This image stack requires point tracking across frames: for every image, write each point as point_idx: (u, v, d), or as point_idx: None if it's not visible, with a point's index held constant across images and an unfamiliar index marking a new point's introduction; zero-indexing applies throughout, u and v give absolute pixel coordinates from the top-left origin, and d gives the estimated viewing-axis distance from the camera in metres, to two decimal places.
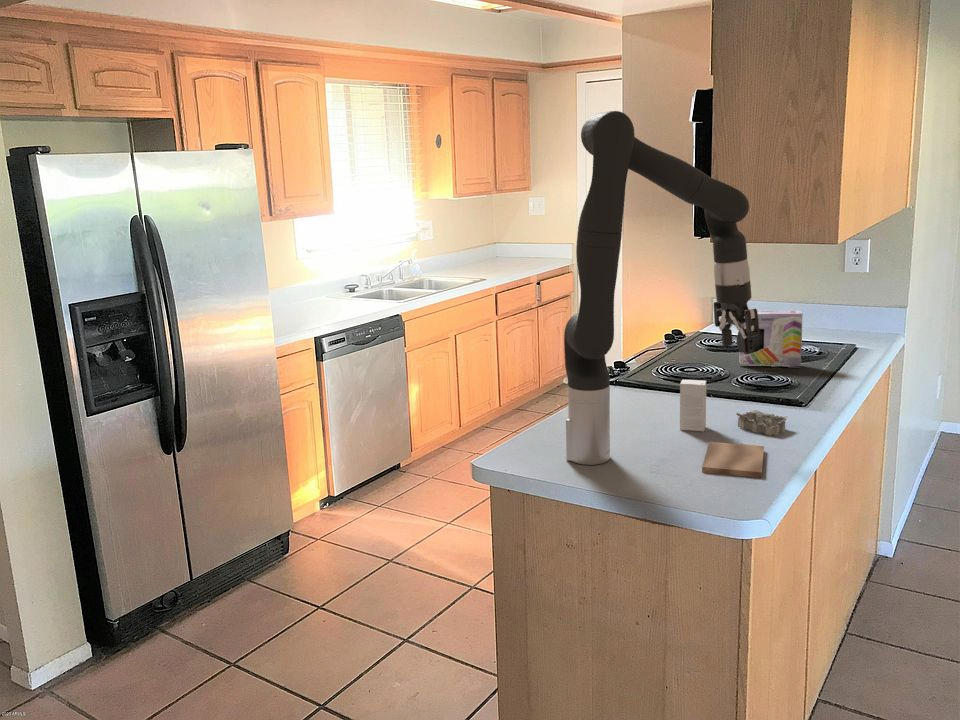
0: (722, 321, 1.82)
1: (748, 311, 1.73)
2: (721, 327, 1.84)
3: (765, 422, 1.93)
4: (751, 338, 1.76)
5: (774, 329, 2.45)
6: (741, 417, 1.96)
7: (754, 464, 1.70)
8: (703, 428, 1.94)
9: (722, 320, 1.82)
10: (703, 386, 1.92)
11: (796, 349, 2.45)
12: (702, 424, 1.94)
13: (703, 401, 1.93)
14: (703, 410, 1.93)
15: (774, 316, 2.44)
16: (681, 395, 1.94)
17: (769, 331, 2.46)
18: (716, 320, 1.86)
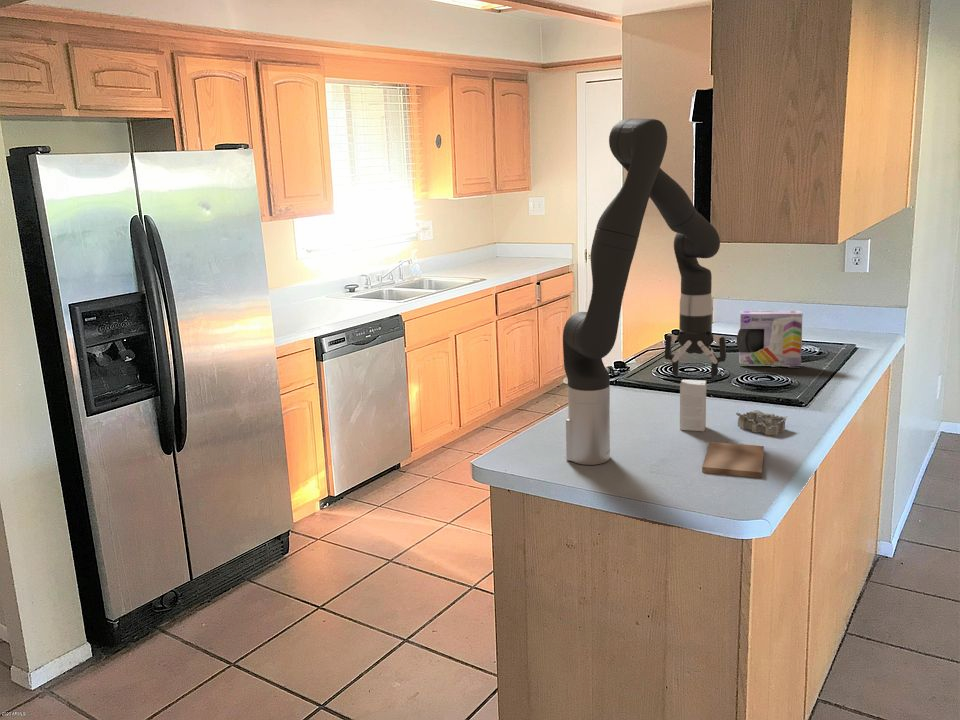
0: (682, 352, 1.92)
1: (723, 337, 1.89)
2: (676, 358, 1.93)
3: (765, 422, 1.93)
4: None
5: (774, 329, 2.45)
6: (741, 417, 1.96)
7: (754, 464, 1.70)
8: (703, 428, 1.94)
9: (683, 351, 1.92)
10: (703, 386, 1.92)
11: (796, 349, 2.45)
12: (702, 424, 1.94)
13: (703, 401, 1.93)
14: (703, 410, 1.93)
15: (774, 316, 2.44)
16: (681, 395, 1.94)
17: (769, 331, 2.46)
18: (668, 353, 1.94)
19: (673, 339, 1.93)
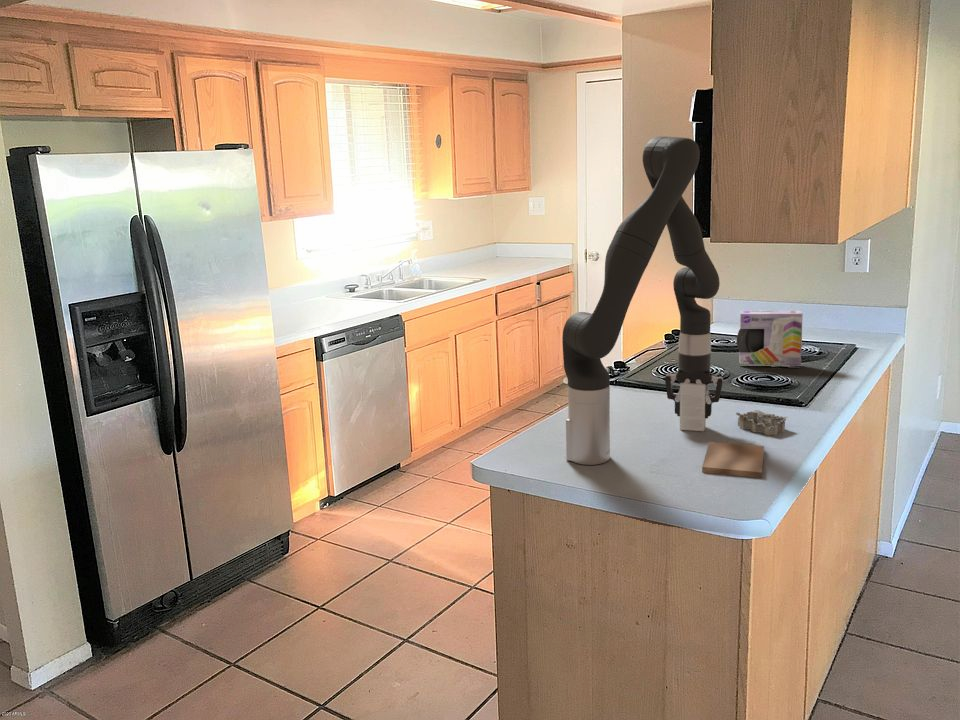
0: None
1: (721, 379, 1.91)
2: (679, 398, 1.96)
3: (764, 422, 1.93)
4: None
5: (774, 329, 2.45)
6: (741, 417, 1.96)
7: (754, 464, 1.70)
8: (703, 428, 1.94)
9: None
10: (703, 386, 1.92)
11: (796, 349, 2.45)
12: (702, 424, 1.94)
13: (703, 401, 1.93)
14: (703, 410, 1.93)
15: (774, 316, 2.44)
16: (681, 395, 1.94)
17: (769, 331, 2.46)
18: (670, 392, 1.96)
19: (672, 378, 1.96)
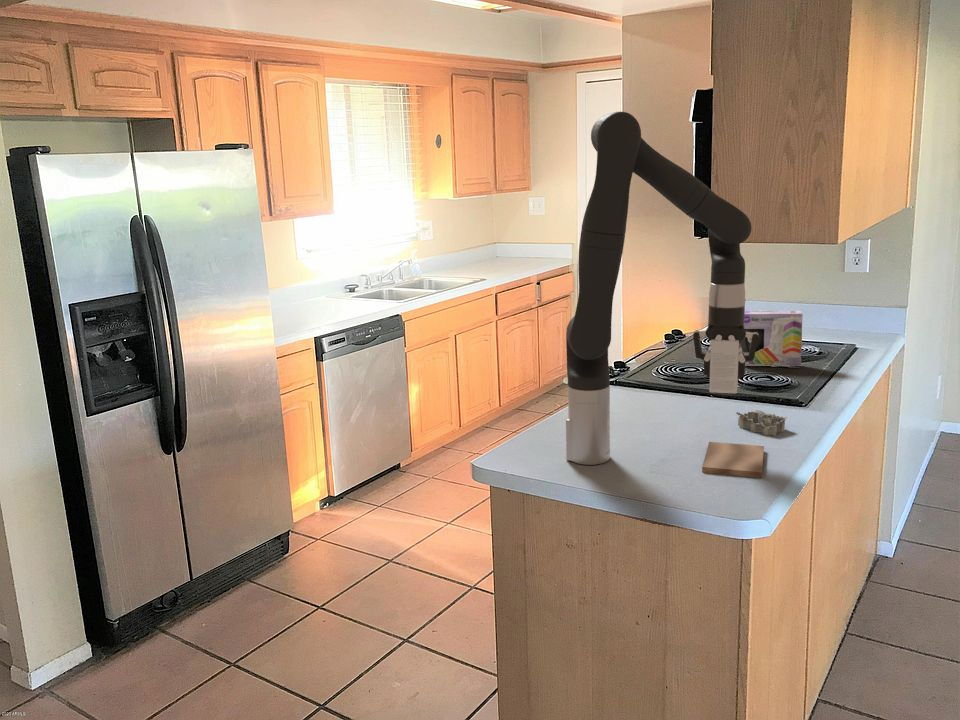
0: None
1: (757, 335, 1.72)
2: (709, 357, 1.76)
3: (764, 422, 1.93)
4: (744, 362, 1.75)
5: (774, 329, 2.45)
6: (741, 416, 1.96)
7: (754, 464, 1.70)
8: (736, 390, 1.75)
9: None
10: (736, 342, 1.73)
11: (796, 349, 2.45)
12: (735, 385, 1.75)
13: (736, 359, 1.74)
14: (736, 369, 1.74)
15: (774, 316, 2.44)
16: (711, 353, 1.75)
17: (769, 331, 2.46)
18: (698, 351, 1.77)
19: (701, 335, 1.76)
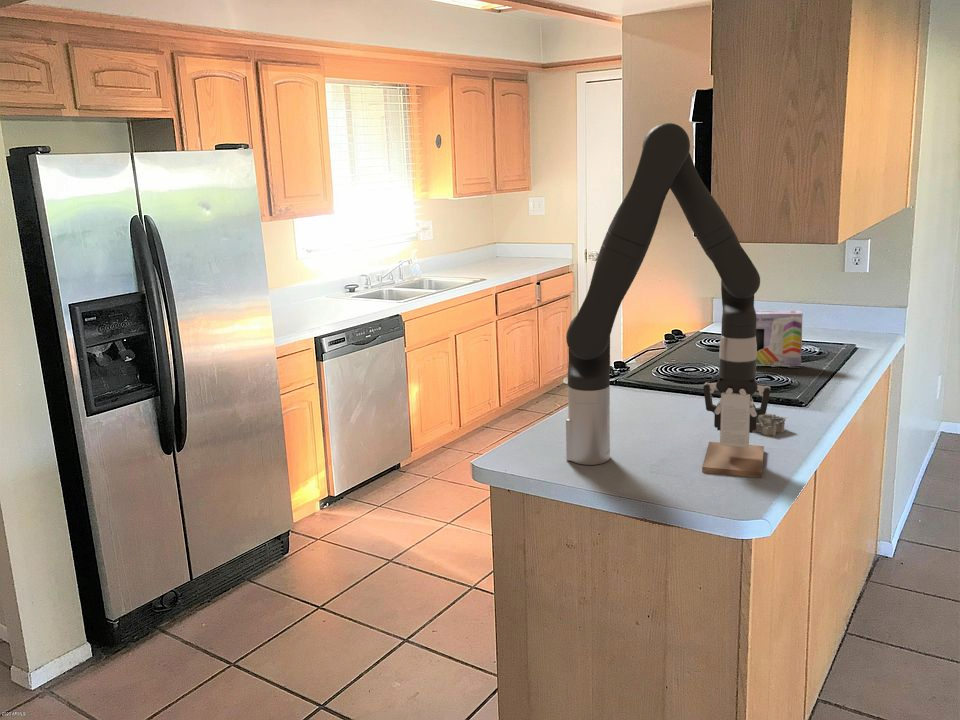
0: None
1: (769, 389, 1.68)
2: (719, 410, 1.73)
3: (764, 422, 1.93)
4: None
5: (774, 329, 2.45)
6: None
7: (754, 464, 1.70)
8: (747, 444, 1.72)
9: None
10: (748, 396, 1.69)
11: (796, 349, 2.45)
12: (746, 439, 1.71)
13: (747, 413, 1.70)
14: (747, 423, 1.70)
15: (774, 316, 2.44)
16: (722, 406, 1.71)
17: (769, 331, 2.46)
18: (709, 404, 1.73)
19: (712, 388, 1.73)
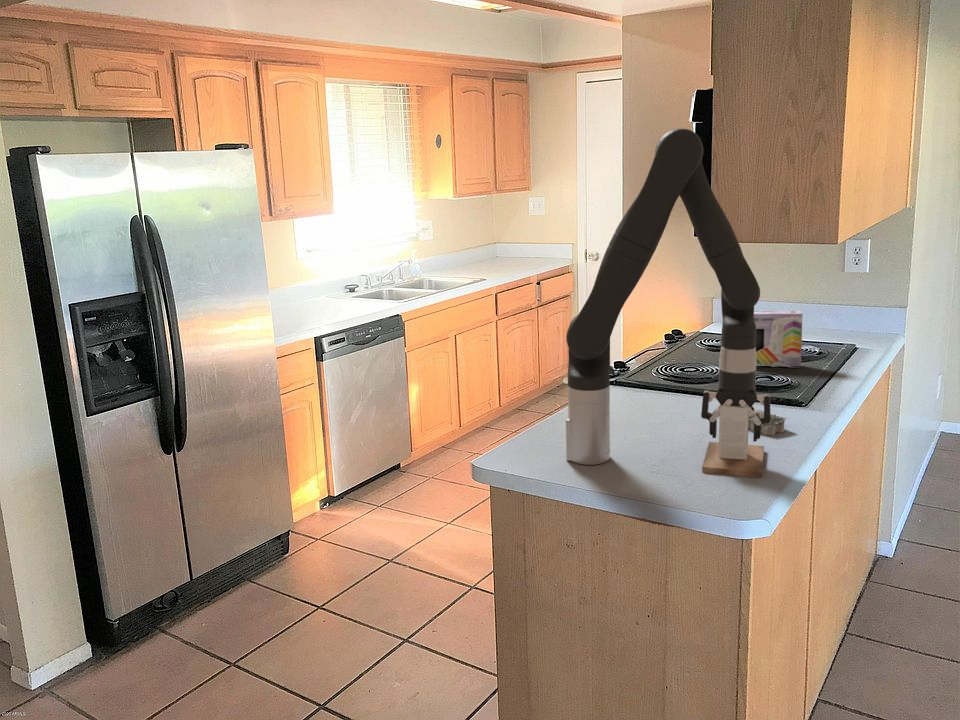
0: None
1: (768, 396, 1.69)
2: (714, 418, 1.73)
3: None
4: None
5: (774, 329, 2.45)
6: None
7: (754, 464, 1.70)
8: (745, 456, 1.72)
9: None
10: (746, 409, 1.70)
11: (796, 349, 2.45)
12: (744, 452, 1.72)
13: (746, 426, 1.71)
14: (746, 436, 1.71)
15: (774, 316, 2.44)
16: (721, 419, 1.72)
17: (769, 331, 2.46)
18: (705, 411, 1.74)
19: (711, 396, 1.73)
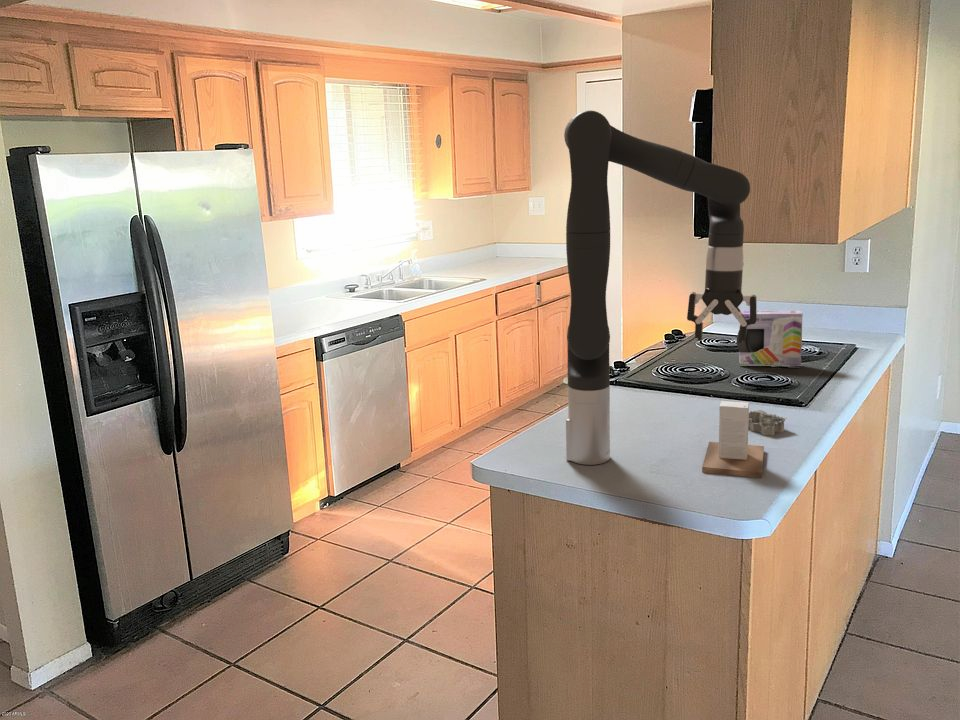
0: (707, 312, 1.71)
1: (754, 297, 1.68)
2: (700, 320, 1.73)
3: (763, 422, 1.93)
4: None
5: (774, 329, 2.45)
6: None
7: (754, 464, 1.70)
8: (745, 456, 1.72)
9: (708, 311, 1.71)
10: (746, 409, 1.70)
11: (796, 349, 2.45)
12: (744, 452, 1.72)
13: (746, 426, 1.71)
14: (746, 436, 1.71)
15: (774, 316, 2.44)
16: (721, 419, 1.72)
17: (769, 331, 2.46)
18: (691, 313, 1.73)
19: (697, 298, 1.73)
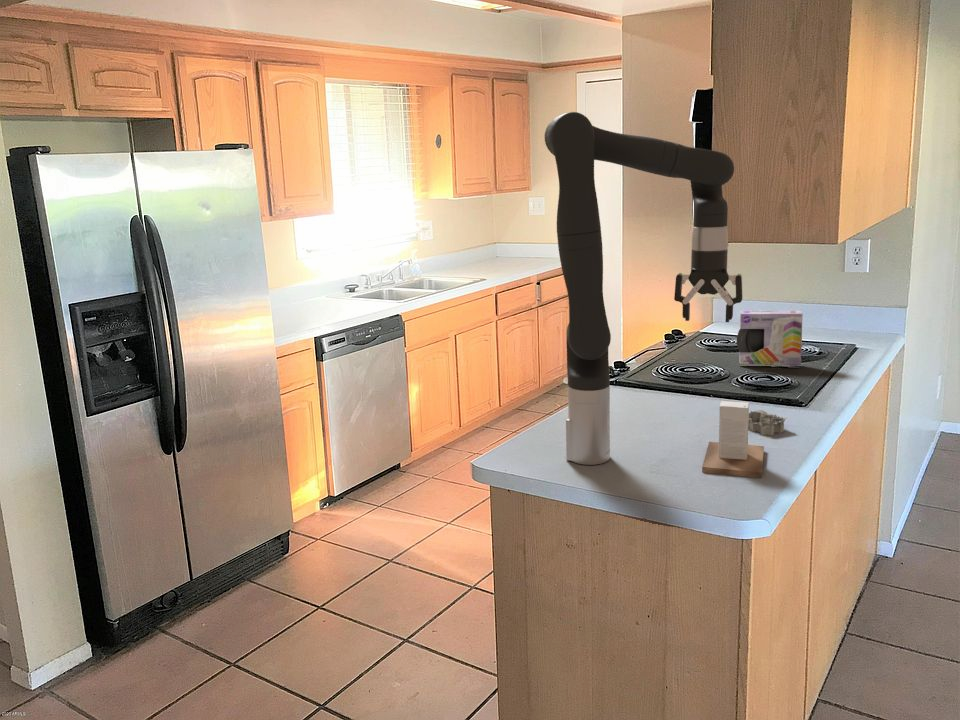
0: (694, 292, 1.74)
1: (740, 275, 1.71)
2: (687, 300, 1.75)
3: (763, 422, 1.93)
4: None
5: (774, 329, 2.45)
6: None
7: (754, 464, 1.70)
8: (745, 456, 1.72)
9: (694, 291, 1.74)
10: (746, 409, 1.70)
11: (796, 349, 2.45)
12: (744, 452, 1.72)
13: (746, 426, 1.71)
14: (746, 436, 1.71)
15: (774, 316, 2.44)
16: (721, 419, 1.72)
17: (769, 331, 2.46)
18: (678, 294, 1.76)
19: (684, 279, 1.75)
